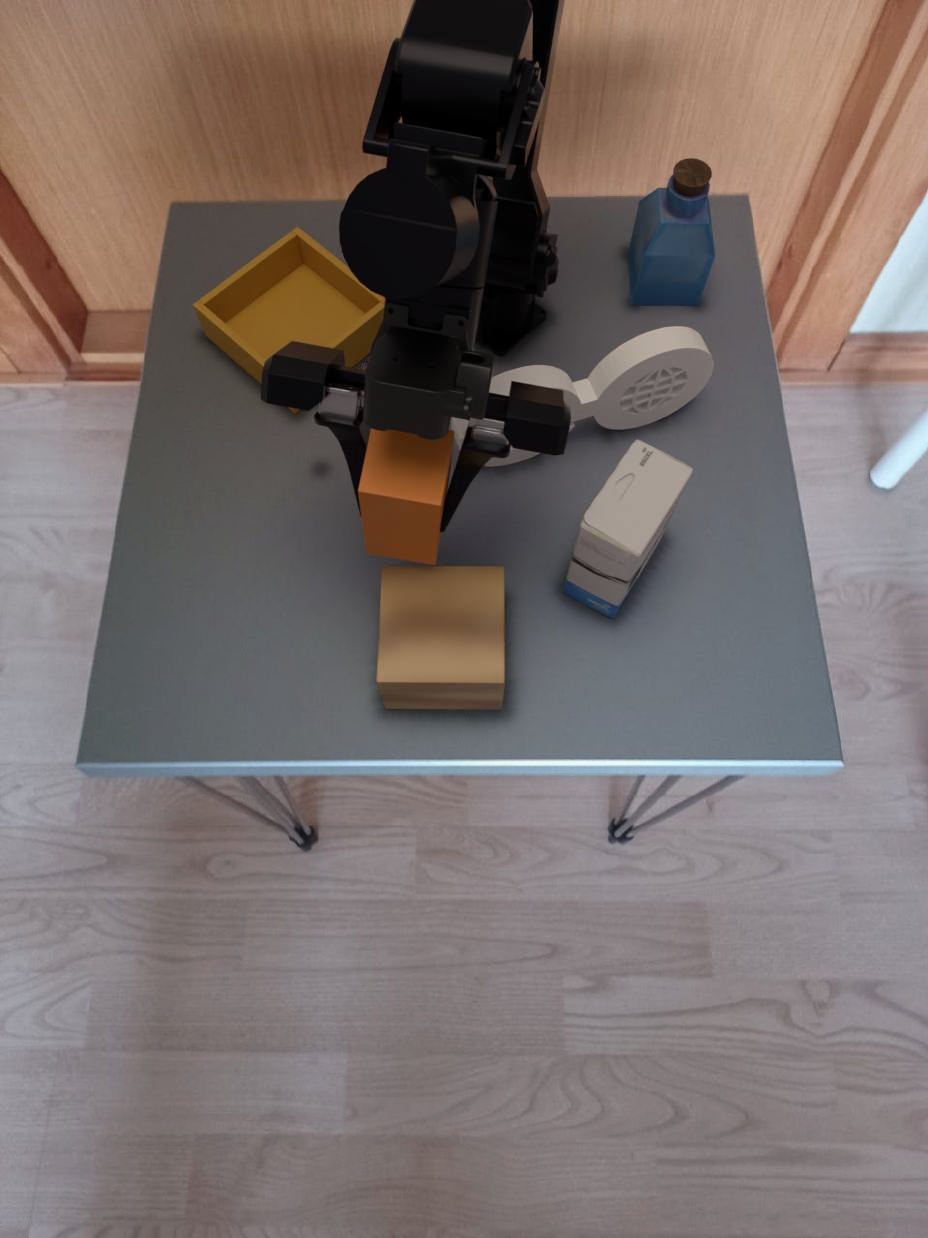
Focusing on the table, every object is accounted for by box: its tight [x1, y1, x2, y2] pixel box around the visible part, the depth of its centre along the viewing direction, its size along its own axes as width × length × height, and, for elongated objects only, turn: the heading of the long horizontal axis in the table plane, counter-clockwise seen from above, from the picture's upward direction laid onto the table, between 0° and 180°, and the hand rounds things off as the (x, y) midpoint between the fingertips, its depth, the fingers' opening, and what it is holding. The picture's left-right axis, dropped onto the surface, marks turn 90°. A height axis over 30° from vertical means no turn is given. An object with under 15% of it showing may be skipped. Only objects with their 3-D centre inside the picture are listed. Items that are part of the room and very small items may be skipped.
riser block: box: [375, 565, 506, 711], centre depth 65 cm, size 9×9×7 cm
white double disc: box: [450, 325, 715, 467], centre depth 71 cm, size 22×2×10 cm, turn 108°
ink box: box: [562, 438, 694, 619], centre depth 66 cm, size 8×5×12 cm, turn 148°
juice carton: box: [358, 428, 455, 566], centre depth 57 cm, size 5×5×11 cm
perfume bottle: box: [627, 157, 716, 307], centre depth 77 cm, size 6×6×12 cm
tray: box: [192, 226, 385, 415], centre depth 78 cm, size 12×12×4 cm
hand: (402, 523), depth 58 cm, fingers closed on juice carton, 5 cm apart
